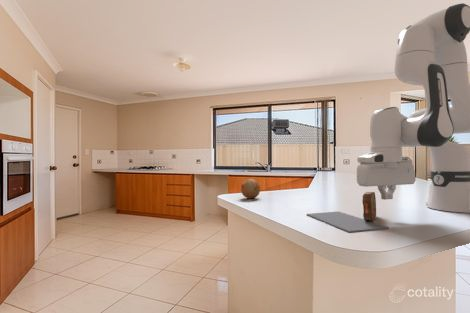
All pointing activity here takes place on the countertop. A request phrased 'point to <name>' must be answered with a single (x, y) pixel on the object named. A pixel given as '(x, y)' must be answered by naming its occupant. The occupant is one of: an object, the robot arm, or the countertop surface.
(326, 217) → the rubber mat
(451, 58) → the robot arm
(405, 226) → the countertop surface
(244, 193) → the onion
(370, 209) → the tin
